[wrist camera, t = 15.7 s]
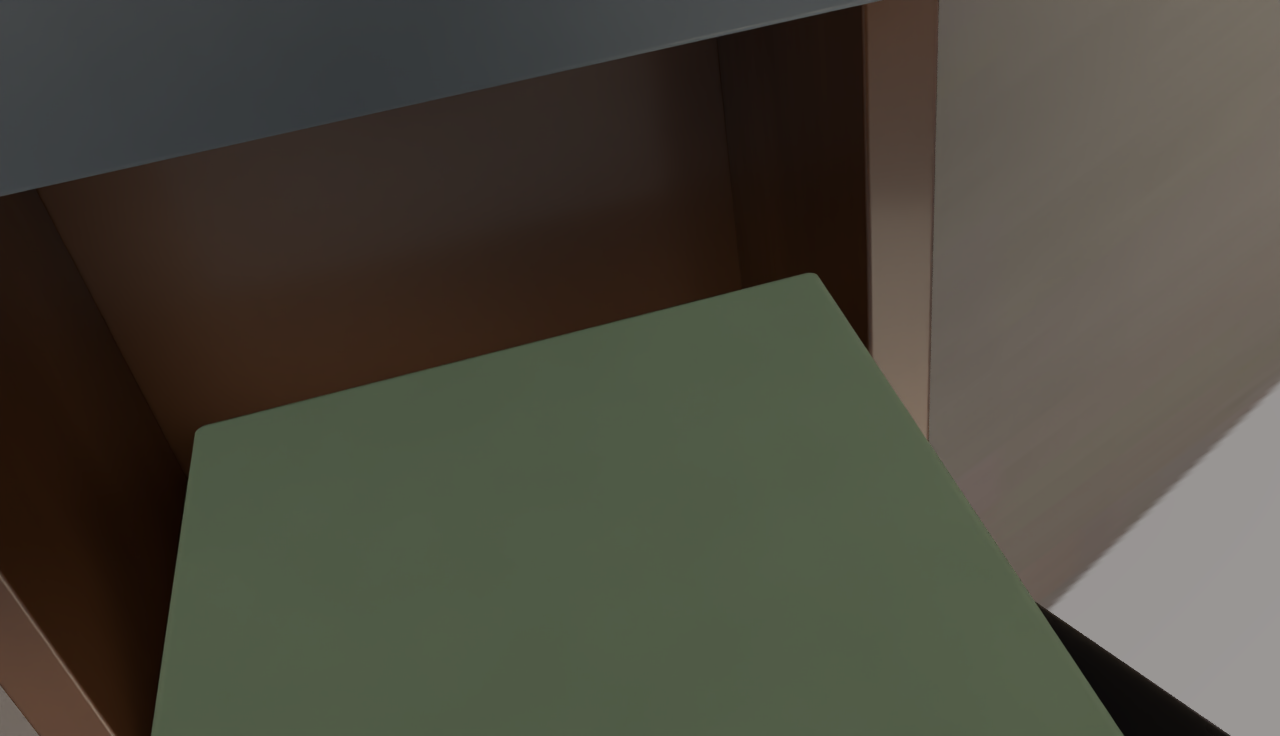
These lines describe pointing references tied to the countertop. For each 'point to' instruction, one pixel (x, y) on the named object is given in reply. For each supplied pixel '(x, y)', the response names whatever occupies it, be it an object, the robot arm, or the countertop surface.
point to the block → (607, 551)
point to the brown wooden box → (418, 286)
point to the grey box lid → (294, 65)
